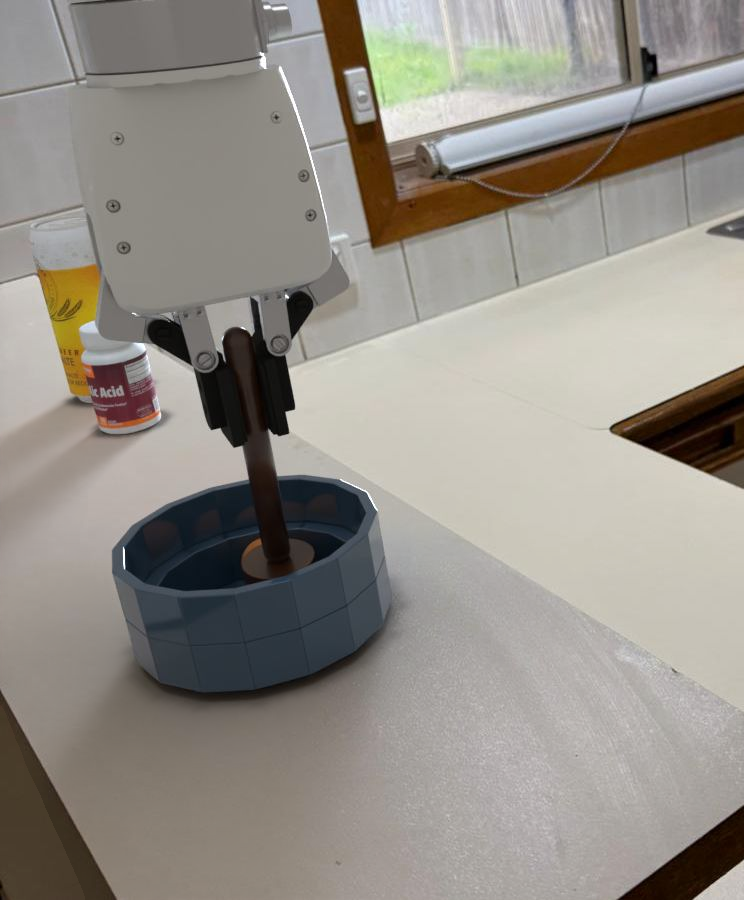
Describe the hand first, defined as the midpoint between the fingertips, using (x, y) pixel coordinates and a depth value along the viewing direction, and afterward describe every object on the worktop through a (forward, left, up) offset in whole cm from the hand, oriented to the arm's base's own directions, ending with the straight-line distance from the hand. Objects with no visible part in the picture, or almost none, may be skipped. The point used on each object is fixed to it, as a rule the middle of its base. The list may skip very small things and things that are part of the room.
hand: (254, 430), depth 57 cm
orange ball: (-2, +4, -10) cm, 10 cm away
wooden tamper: (-1, +1, -10) cm, 10 cm away
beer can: (-27, +40, -12) cm, 49 cm away
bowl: (-2, 0, -12) cm, 12 cm away
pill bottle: (-22, +32, -12) cm, 40 cm away
